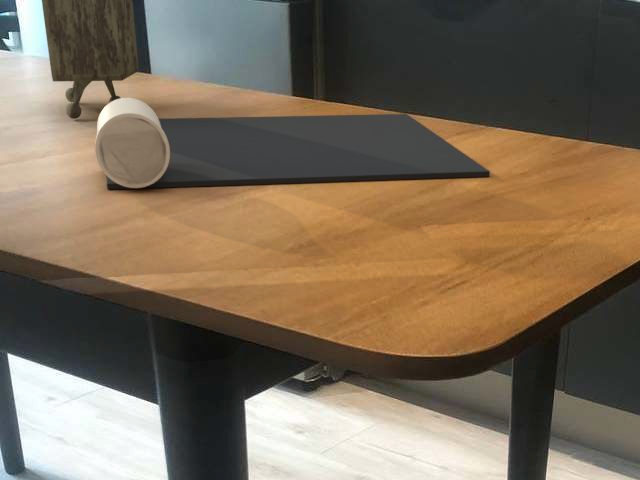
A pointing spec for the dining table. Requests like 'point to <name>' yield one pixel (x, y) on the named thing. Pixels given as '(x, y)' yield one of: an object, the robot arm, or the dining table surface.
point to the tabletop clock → (90, 44)
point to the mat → (305, 151)
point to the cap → (131, 143)
